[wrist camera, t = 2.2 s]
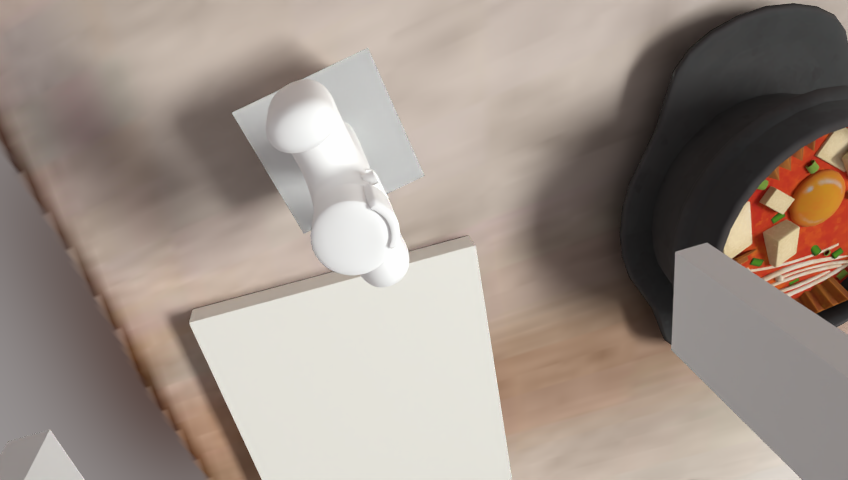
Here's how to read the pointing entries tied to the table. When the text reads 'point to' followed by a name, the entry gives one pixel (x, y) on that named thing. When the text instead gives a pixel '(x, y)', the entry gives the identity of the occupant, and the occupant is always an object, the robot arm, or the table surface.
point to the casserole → (750, 162)
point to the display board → (364, 374)
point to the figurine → (338, 164)
